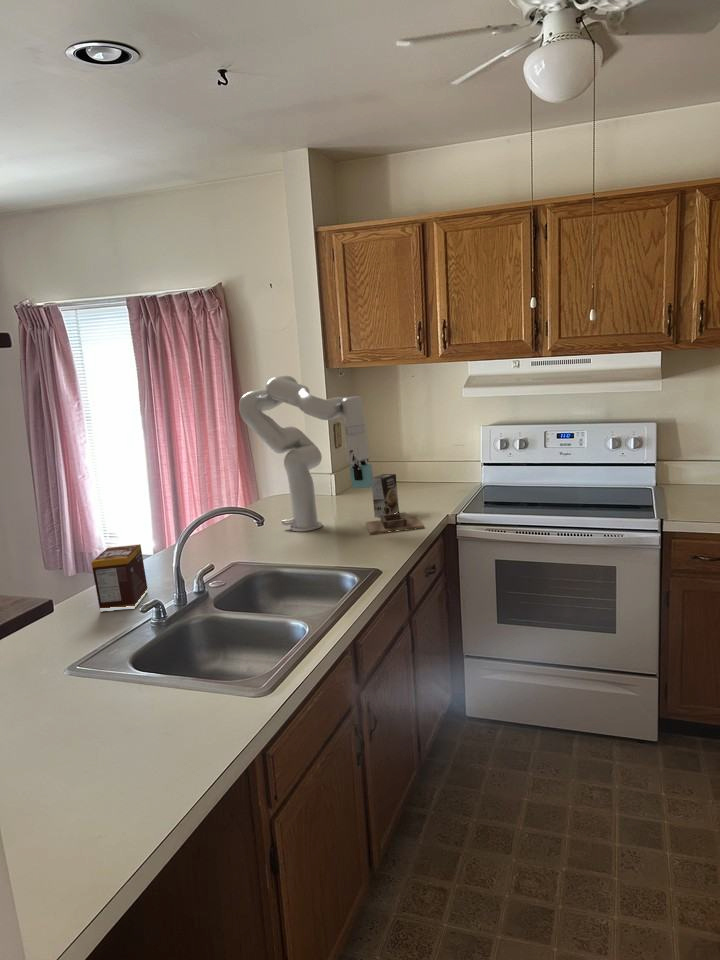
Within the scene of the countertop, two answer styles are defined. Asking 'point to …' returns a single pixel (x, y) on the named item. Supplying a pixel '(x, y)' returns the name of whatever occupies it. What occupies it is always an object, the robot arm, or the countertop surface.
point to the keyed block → (366, 475)
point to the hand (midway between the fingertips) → (361, 478)
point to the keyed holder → (393, 523)
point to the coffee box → (385, 495)
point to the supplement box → (119, 576)
